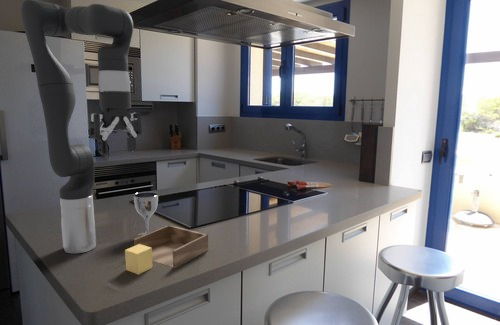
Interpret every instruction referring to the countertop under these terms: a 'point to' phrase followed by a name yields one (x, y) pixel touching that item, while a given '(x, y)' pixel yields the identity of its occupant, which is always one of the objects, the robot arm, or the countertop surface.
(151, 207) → the wine glass
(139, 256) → the block
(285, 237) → the countertop surface
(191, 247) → the box
